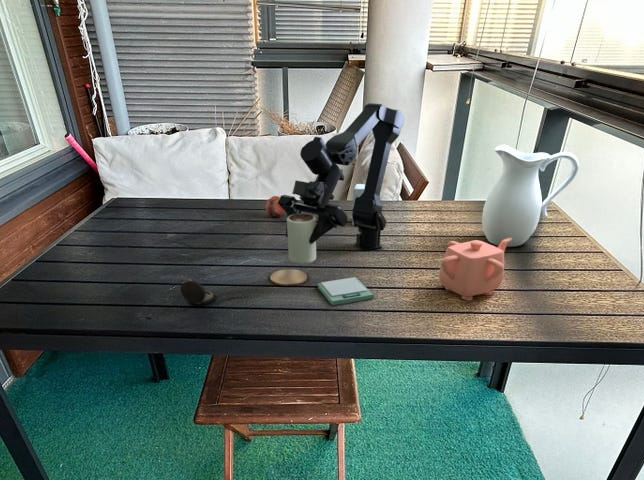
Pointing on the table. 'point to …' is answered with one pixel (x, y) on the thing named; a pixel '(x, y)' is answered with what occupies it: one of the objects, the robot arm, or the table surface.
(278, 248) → the table surface
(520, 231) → the pitcher
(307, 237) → the cup
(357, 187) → the white packaging box
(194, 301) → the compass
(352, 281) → the scale
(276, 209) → the pomegranate
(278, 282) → the coaster
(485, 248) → the teapot
